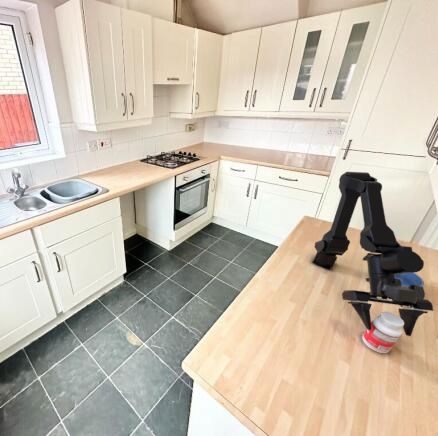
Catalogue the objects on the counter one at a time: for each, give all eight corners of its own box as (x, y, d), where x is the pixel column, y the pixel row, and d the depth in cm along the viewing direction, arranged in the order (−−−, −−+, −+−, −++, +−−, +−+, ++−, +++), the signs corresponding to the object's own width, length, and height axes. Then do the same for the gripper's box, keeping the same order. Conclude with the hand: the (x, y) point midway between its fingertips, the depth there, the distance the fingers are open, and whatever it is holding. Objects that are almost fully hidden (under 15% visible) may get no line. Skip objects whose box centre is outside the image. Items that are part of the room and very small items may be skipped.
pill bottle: (368, 331, 74) (384, 306, 69) (393, 348, 69) (413, 322, 64) (357, 339, 72) (373, 314, 67) (381, 357, 67) (401, 332, 62)
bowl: (368, 283, 92) (373, 274, 90) (373, 267, 100) (378, 258, 98) (416, 303, 84) (423, 293, 81) (418, 283, 91) (424, 274, 89)
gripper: (363, 268, 65) (370, 331, 61) (448, 278, 61) (461, 345, 57) (339, 271, 75) (343, 325, 71) (410, 280, 72) (419, 337, 67)
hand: (388, 332), depth 66 cm, fingers open, 9 cm apart
